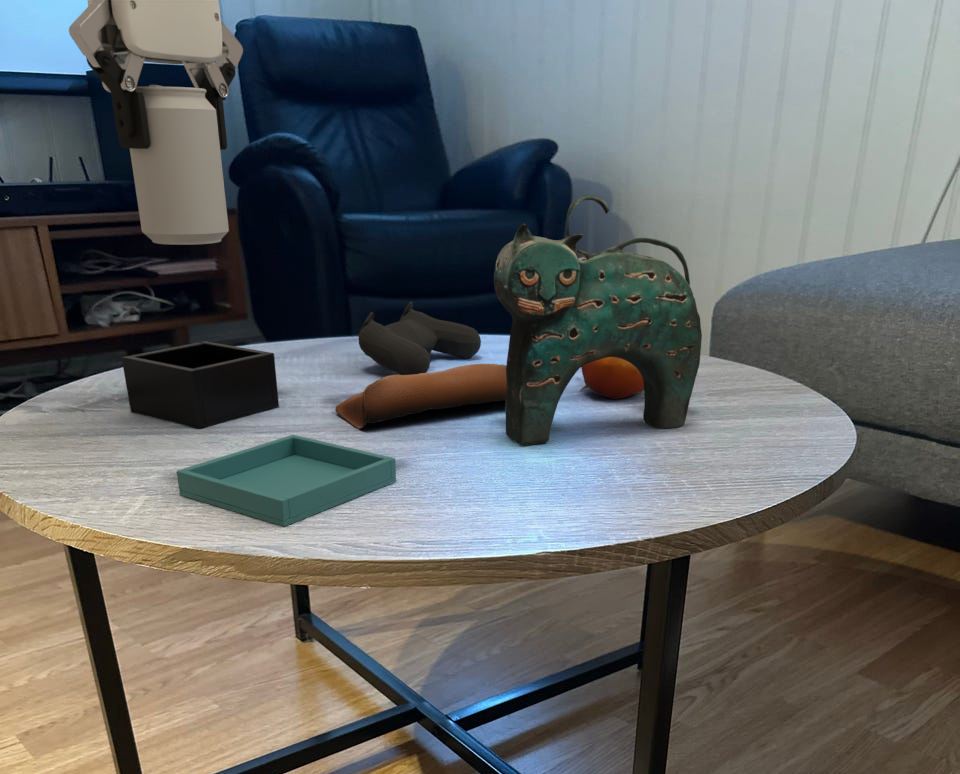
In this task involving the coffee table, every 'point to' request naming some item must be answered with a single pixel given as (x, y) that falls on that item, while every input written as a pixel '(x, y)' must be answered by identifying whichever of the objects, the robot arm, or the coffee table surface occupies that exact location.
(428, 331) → the gaming controller
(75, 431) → the coffee table surface
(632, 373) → the fruit
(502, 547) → the coffee table surface
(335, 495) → the tray
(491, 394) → the sunglasses case
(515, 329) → the ceramic cat
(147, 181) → the can
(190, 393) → the box
